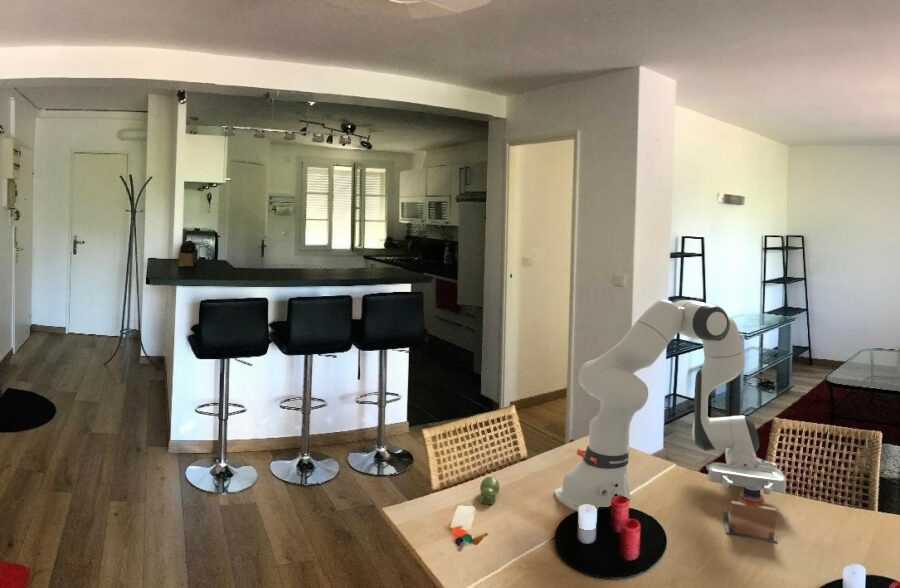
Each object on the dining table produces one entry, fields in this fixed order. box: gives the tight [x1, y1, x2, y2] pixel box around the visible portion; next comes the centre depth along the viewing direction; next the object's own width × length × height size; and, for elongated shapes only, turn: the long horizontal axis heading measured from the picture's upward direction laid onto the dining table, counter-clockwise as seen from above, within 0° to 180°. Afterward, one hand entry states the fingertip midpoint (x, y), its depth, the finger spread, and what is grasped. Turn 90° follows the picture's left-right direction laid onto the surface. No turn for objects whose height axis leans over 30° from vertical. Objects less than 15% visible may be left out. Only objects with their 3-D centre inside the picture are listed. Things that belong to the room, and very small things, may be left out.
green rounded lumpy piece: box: [479, 476, 500, 505], centre depth 179 cm, size 6×5×10 cm
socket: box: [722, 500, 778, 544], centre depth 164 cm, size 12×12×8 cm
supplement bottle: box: [738, 484, 765, 506], centre depth 164 cm, size 6×6×11 cm
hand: (748, 488), depth 171 cm, fingers open, 8 cm apart
